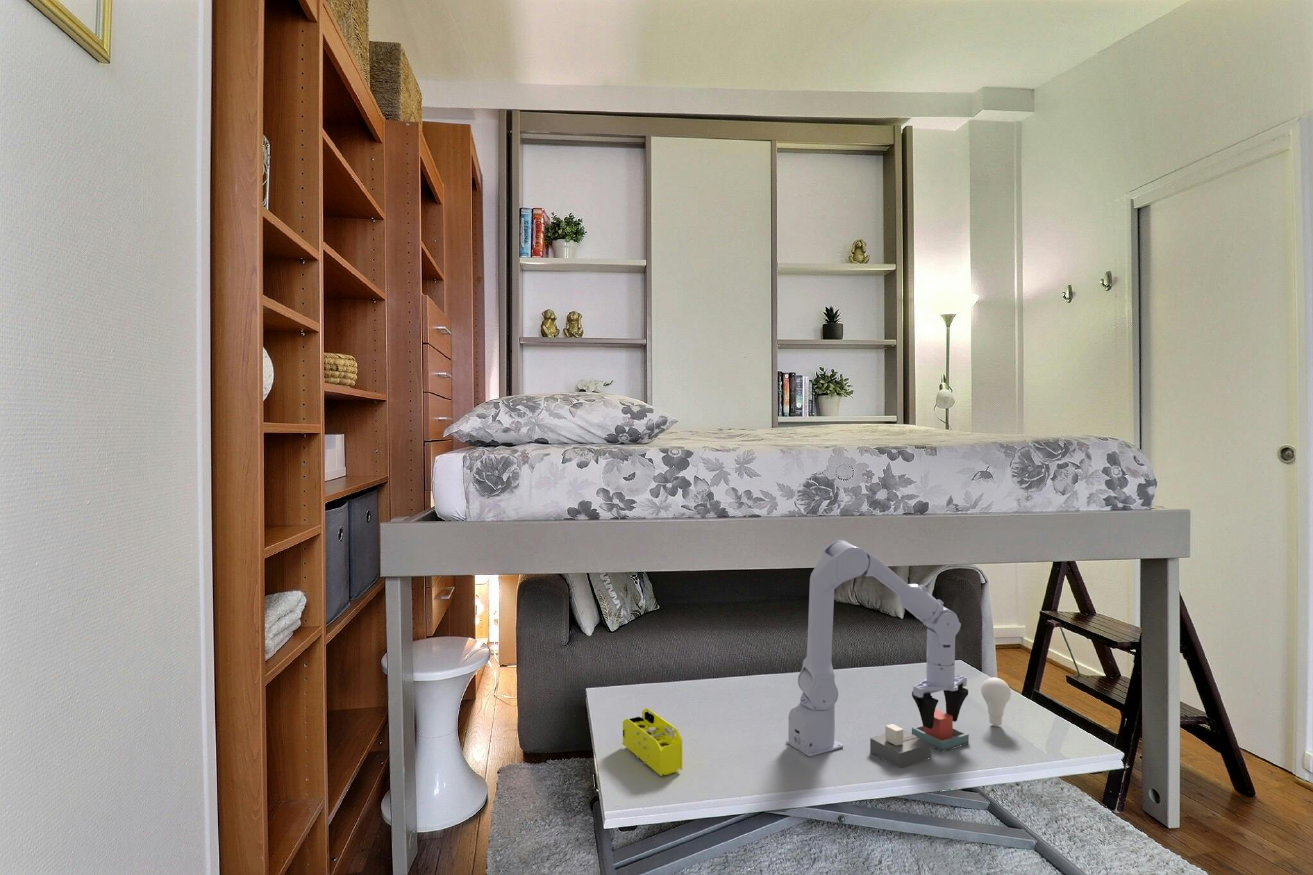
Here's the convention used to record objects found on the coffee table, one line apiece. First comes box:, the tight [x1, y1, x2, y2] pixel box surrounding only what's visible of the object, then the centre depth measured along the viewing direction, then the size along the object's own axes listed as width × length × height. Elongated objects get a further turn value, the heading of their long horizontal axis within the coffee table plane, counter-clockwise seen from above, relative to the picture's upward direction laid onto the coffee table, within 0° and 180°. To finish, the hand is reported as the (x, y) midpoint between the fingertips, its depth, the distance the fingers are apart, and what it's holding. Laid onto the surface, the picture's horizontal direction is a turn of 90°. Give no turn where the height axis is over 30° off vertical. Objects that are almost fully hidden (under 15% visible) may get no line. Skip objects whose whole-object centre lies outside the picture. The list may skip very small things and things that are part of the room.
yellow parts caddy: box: [622, 707, 683, 777], centre depth 149 cm, size 16×6×8 cm, turn 30°
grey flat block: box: [869, 729, 932, 769], centre depth 151 cm, size 9×8×3 cm
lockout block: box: [925, 709, 954, 740], centre depth 158 cm, size 4×4×5 cm
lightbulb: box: [980, 676, 1012, 727], centre depth 165 cm, size 6×6×11 cm
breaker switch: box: [884, 723, 904, 746], centre depth 150 cm, size 2×3×3 cm, turn 28°
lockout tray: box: [911, 724, 970, 752], centre depth 158 cm, size 8×8×2 cm
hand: (939, 723), depth 158 cm, fingers open, 7 cm apart
